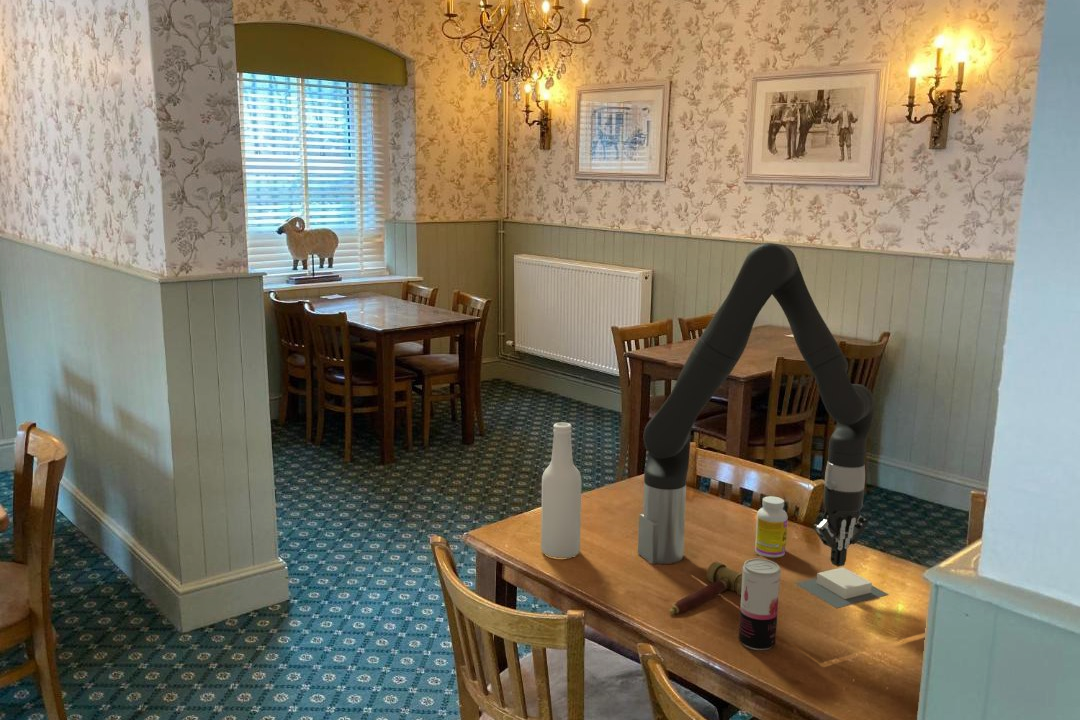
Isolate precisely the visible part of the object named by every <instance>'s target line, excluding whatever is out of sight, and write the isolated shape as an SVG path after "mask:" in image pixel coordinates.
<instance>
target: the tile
mask: <svg viewBox="0 0 1080 720" xmlns="http://www.w3.org/2000/svg"><path fill="white" fill-rule="evenodd" d="M816 578H817V583H818V584H819V585H821V586H823V587H825V588H826V589H828V590H830V591H831V592H833V593H835V594H837V595H838V596H840V597H842V598H844V599H848V598H852V597H856V596H860V595H864V594H868V593H871V586H873V585H872V584H873V583H872V581H870V580H868V579H866V578H864V577H863V576H861V575H858V574H857V573H854V572H853V571H851V570H849V569H848V568H846V567H843V566H840V567H837V568H833V569H829V570H825V571H821V572H817V573H816Z"/></svg>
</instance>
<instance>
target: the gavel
mask: <svg viewBox="0 0 1080 720" xmlns="http://www.w3.org/2000/svg"><path fill="white" fill-rule="evenodd" d="M742 574H743V573H741V572H738V571H736V570H734V569H732V568H729V567H727V565H725V564H723V563H722V562H719V561H713V562H712V563H711V564H709V566H708V568H707V570H706V580H707V581H708V582H711V583H709V584H708V585H705V586H704V587H702V588H700V589H698V590H695V592H692V593H690V594H689V595H687V596H685V597H682V598H681V599H679V600H677V601H676V602H675V604H674V605H673V606H672V607H671V609H669V614H670V615H675V614H676V615H678V614H685V613H687V612H688V611H690V610H692V609H694V608H696V607H697V606H700V605H702V604H703V603H706V602H708V601H710V600H712V599H714V598H715V597H716V596H718V595H721V593H723V592H724V591H725V590H731V591H732V592H736V593H737V595H739V596H741V591H742Z"/></svg>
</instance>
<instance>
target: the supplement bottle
mask: <svg viewBox="0 0 1080 720" xmlns="http://www.w3.org/2000/svg"><path fill="white" fill-rule="evenodd" d="M784 507H785V500H784V499H783V498H781V497H777V496H771V495H769V496H765V497H763V498H762V507H760V509H758V511H757V514H756V527H755V542H754V543H755V544H754V551H755V553H756V554H757V555H758V556H759V557H760V556H763V557H766V558H780V557H783V556H784V555H785V554H786V545H787V531H788V530H787V529H788V514H787V513H788V512H786V511H785V510H784Z"/></svg>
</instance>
